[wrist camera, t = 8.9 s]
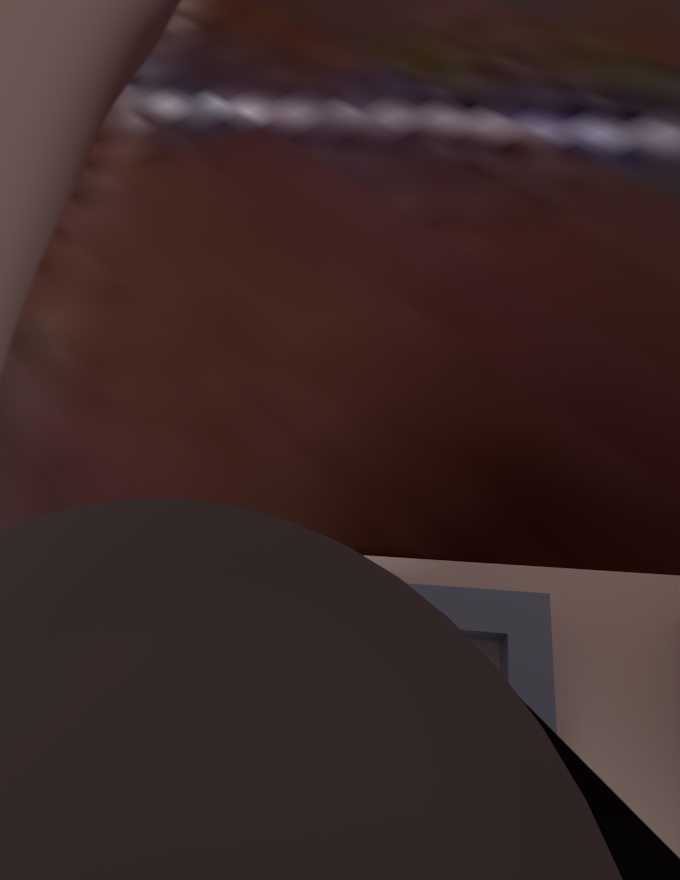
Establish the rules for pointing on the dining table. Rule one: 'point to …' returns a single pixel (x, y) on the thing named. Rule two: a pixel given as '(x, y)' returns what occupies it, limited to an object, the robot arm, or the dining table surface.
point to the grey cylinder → (257, 714)
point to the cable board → (580, 663)
